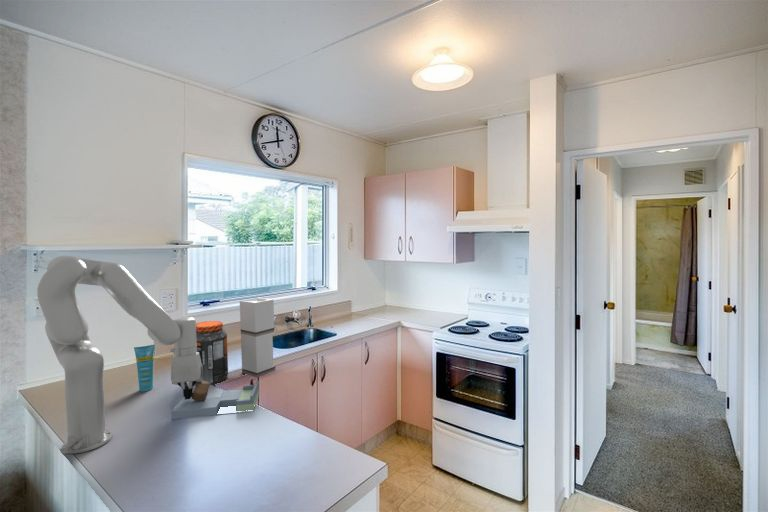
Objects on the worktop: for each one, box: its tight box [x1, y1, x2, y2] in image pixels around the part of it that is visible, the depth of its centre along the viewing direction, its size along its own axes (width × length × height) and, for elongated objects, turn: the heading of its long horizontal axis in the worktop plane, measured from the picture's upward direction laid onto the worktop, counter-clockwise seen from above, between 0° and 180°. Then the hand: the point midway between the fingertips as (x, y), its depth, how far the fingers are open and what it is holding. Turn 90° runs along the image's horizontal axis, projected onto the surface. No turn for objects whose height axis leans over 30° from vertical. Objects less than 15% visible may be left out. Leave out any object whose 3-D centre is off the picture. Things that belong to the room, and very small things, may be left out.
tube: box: [133, 344, 155, 392], centre depth 162 cm, size 7×5×19 cm, turn 123°
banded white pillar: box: [239, 297, 276, 378], centre depth 182 cm, size 11×11×35 cm
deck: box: [171, 380, 260, 420], centre depth 145 cm, size 15×28×6 cm, turn 101°
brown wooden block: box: [192, 381, 211, 401], centre depth 144 cm, size 5×5×6 cm
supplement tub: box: [196, 320, 229, 385], centre depth 173 cm, size 16×16×26 cm
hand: (188, 397), depth 144 cm, fingers closed
